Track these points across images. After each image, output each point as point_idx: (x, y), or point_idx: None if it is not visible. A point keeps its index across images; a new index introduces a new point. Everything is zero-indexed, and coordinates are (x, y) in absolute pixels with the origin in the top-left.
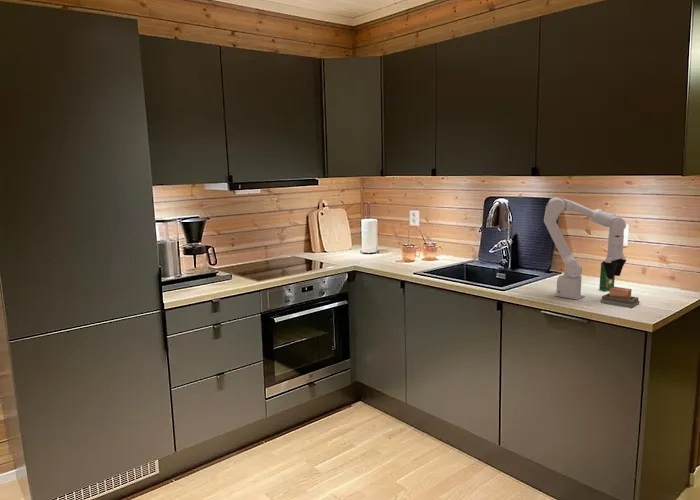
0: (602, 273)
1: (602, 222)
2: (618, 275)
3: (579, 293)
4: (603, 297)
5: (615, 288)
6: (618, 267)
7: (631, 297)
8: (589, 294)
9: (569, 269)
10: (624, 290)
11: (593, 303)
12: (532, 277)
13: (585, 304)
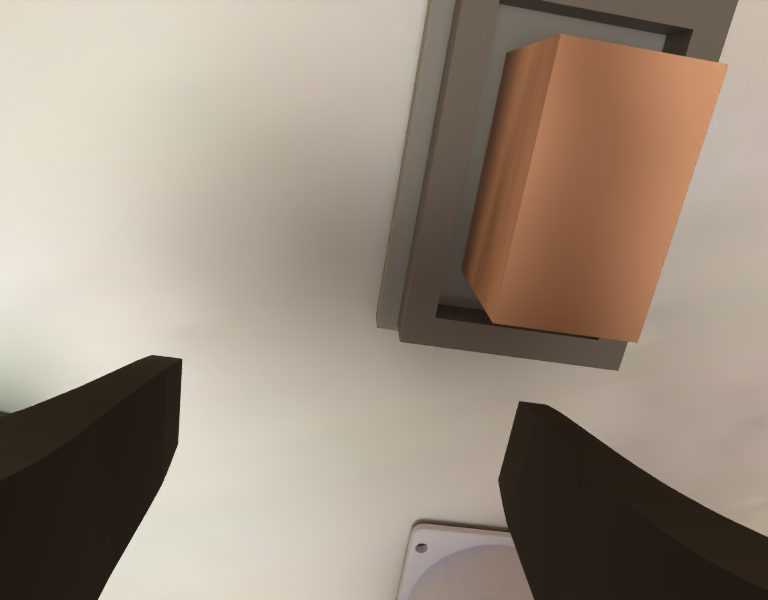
0: None
1: None
2: (175, 377)
3: (522, 574)
4: (617, 348)
5: (626, 271)
6: (92, 502)
7: (487, 46)
8: (292, 505)
9: None
10: (706, 124)
11: (657, 392)
12: None
13: (728, 439)
